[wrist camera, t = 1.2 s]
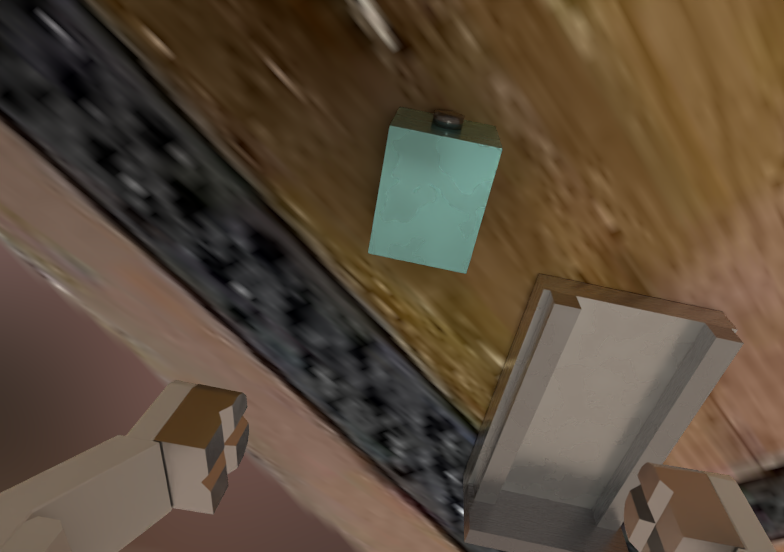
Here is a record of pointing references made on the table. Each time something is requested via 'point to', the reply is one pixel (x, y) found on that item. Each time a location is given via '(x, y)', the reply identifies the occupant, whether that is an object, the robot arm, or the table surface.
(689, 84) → the table surface
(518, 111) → the table surface
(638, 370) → the guide channel
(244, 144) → the table surface
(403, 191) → the block
